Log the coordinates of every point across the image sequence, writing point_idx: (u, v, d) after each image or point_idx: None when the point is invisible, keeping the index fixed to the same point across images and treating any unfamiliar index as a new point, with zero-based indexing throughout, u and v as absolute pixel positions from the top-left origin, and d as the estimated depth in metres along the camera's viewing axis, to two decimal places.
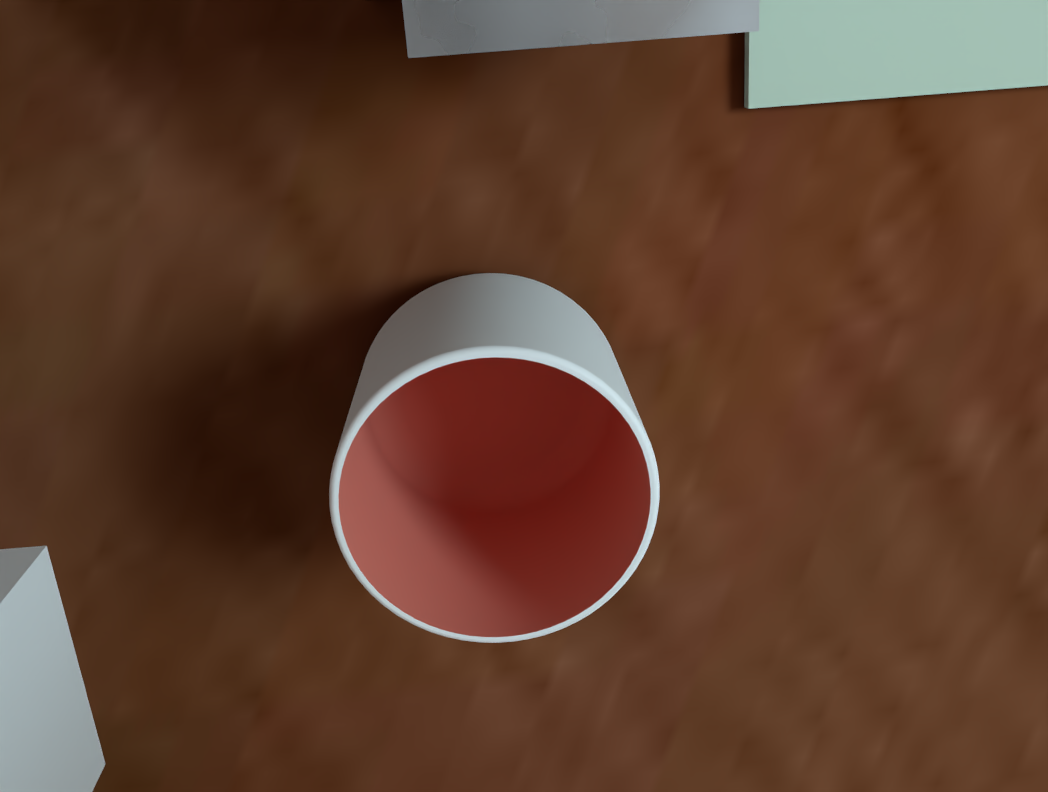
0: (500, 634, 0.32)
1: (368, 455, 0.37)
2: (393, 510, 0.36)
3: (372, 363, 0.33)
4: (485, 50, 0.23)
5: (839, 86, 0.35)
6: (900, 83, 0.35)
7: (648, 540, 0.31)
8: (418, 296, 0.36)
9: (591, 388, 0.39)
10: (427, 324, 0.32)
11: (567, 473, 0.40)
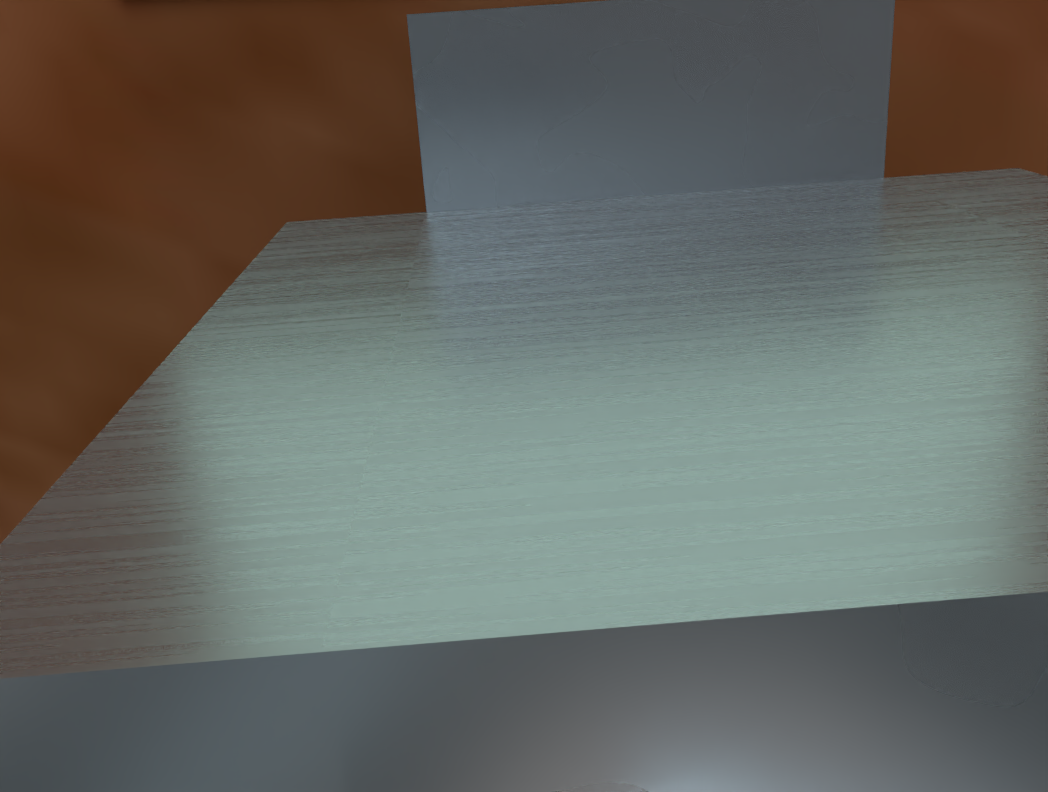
0: None
1: None
2: None
3: None
4: None
5: None
6: None
7: None
8: None
9: None
10: None
11: None
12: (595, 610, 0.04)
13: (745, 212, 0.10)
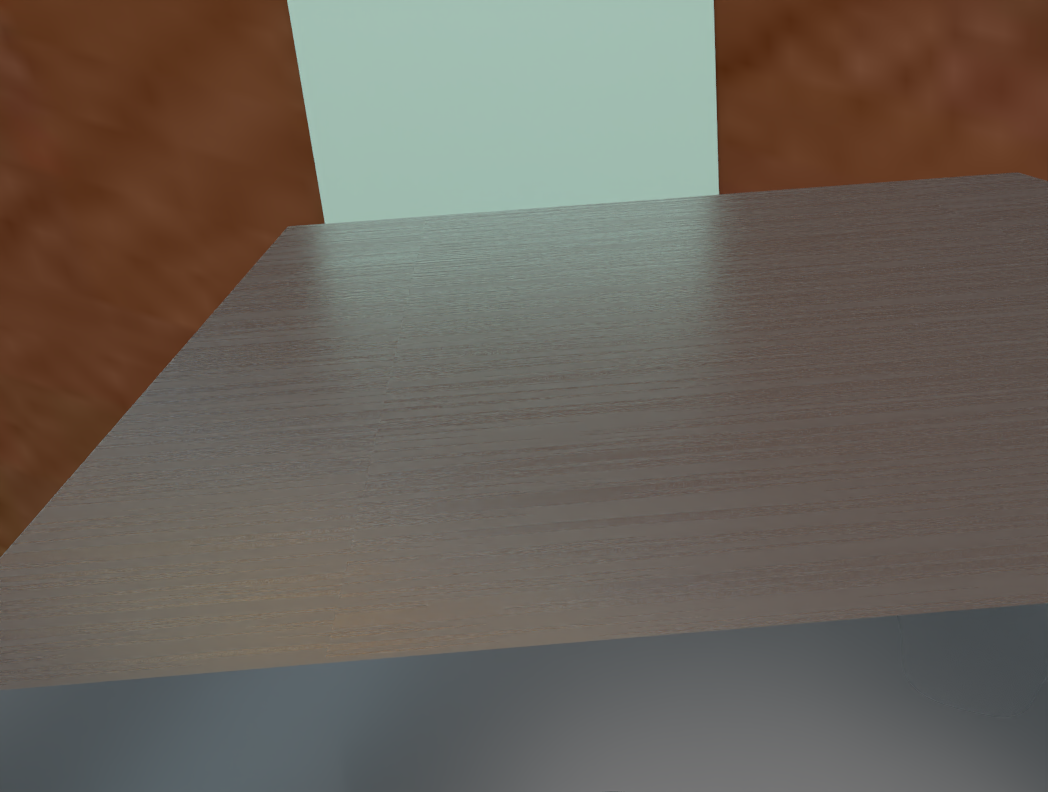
0: None
1: None
2: None
3: None
4: None
5: (702, 147, 0.35)
6: (702, 82, 0.34)
7: None
8: None
9: None
10: None
11: None
12: (595, 621, 0.04)
13: (745, 217, 0.10)
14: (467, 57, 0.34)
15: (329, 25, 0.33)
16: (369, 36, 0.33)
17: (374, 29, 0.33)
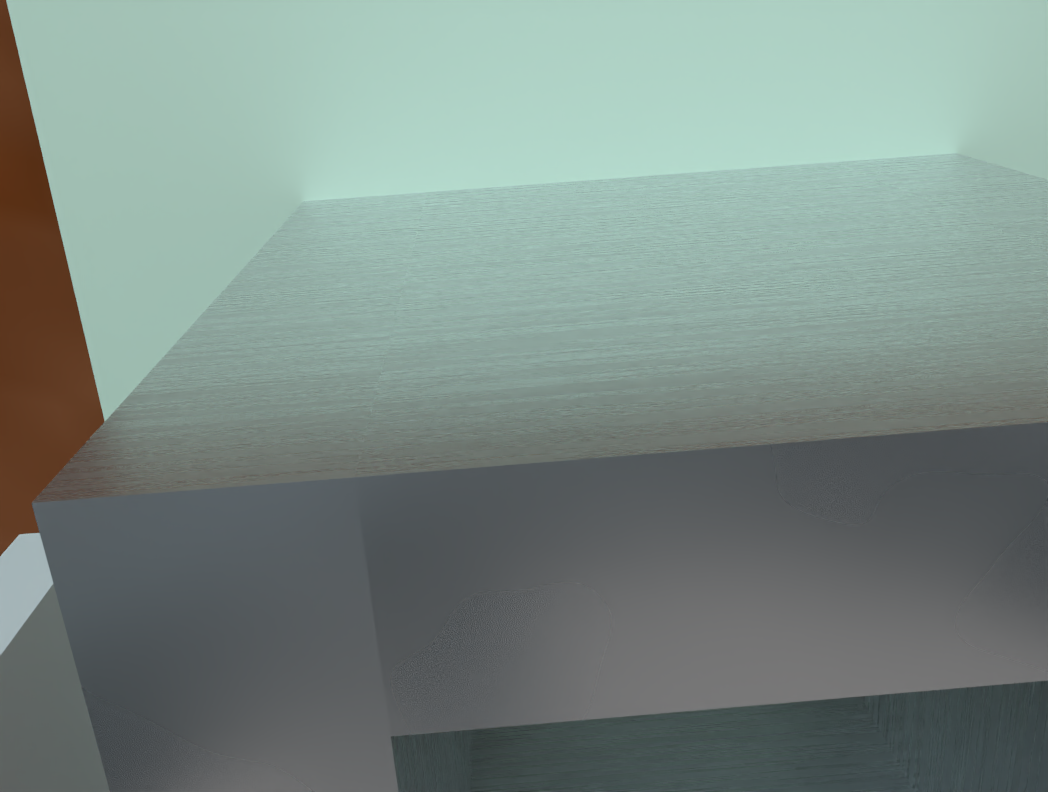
0: None
1: None
2: None
3: None
4: None
5: None
6: None
7: None
8: None
9: None
10: None
11: None
12: (553, 452, 0.05)
13: (708, 190, 0.11)
14: None
15: None
16: None
17: None
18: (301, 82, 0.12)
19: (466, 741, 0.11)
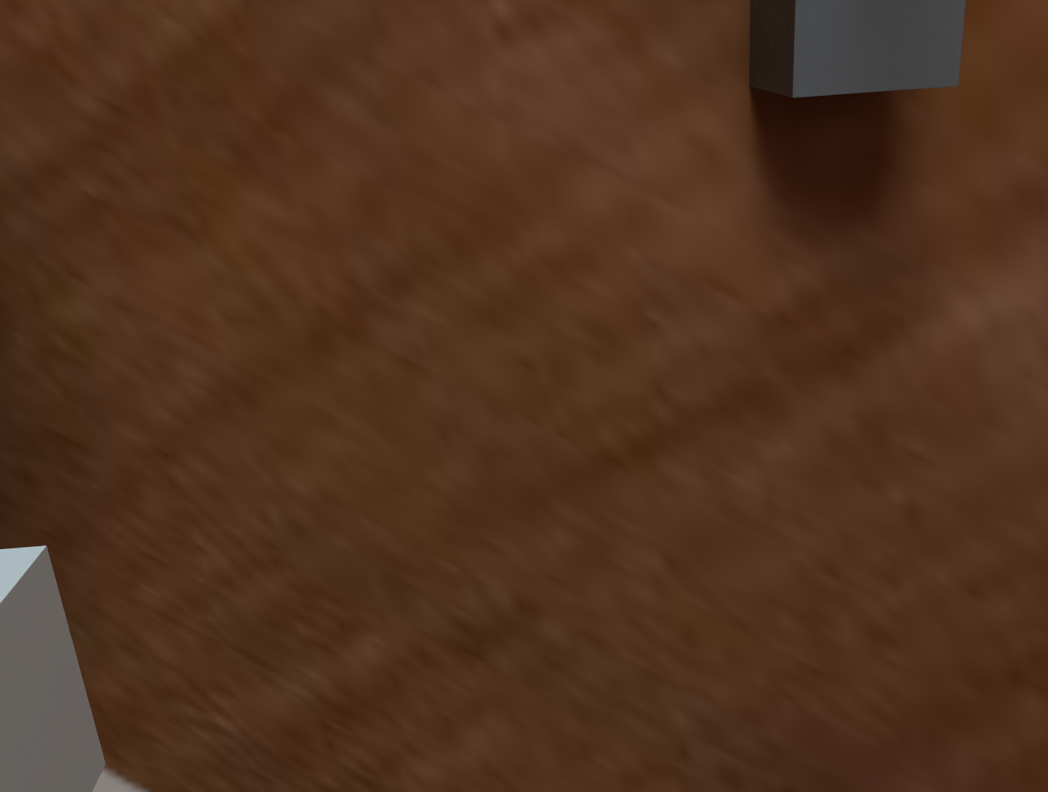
0: None
1: None
2: None
3: None
4: None
5: None
6: None
7: None
8: None
9: None
10: None
11: None
12: None
13: None
14: None
15: None
16: None
17: None
18: None
19: None
